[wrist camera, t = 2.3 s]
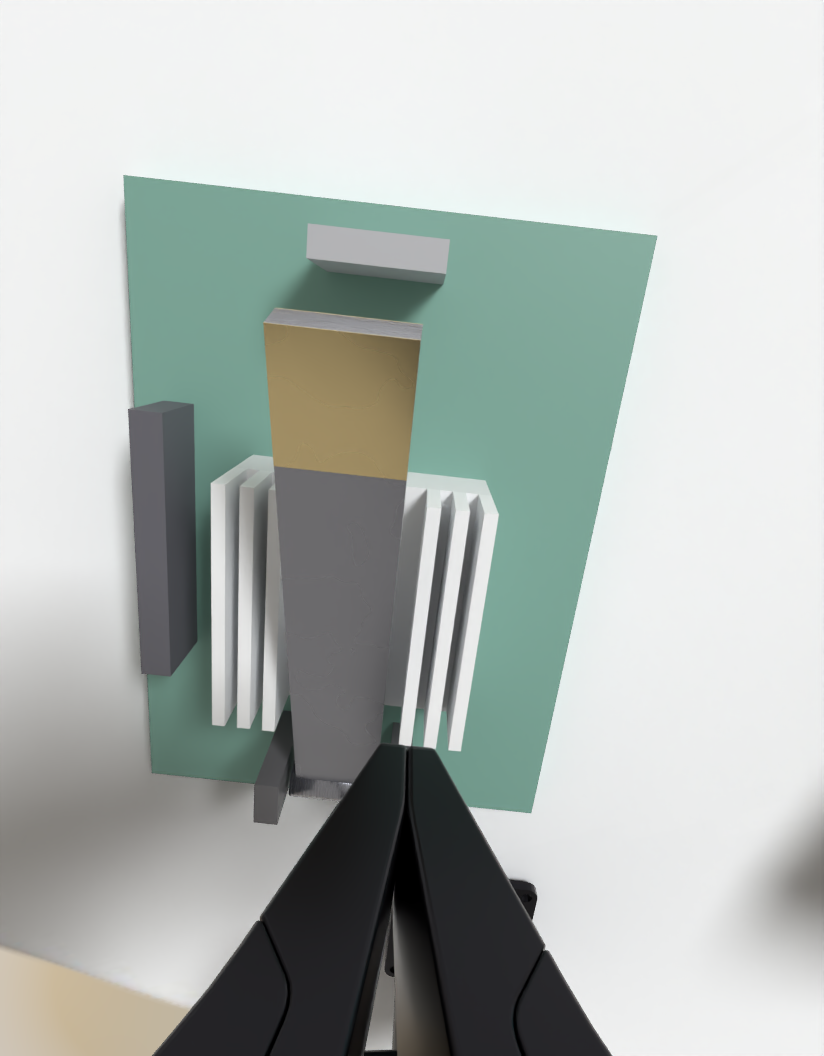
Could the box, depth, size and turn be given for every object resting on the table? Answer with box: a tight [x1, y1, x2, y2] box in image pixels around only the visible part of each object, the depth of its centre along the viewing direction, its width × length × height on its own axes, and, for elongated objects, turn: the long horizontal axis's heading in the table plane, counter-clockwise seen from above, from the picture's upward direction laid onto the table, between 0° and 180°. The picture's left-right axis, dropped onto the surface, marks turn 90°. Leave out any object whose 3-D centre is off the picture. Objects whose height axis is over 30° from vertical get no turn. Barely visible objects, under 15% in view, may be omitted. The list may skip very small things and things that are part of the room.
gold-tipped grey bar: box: [263, 308, 423, 801], centre depth 16 cm, size 17×3×1 cm, turn 174°
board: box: [124, 175, 657, 825], centre depth 19 cm, size 22×16×5 cm
